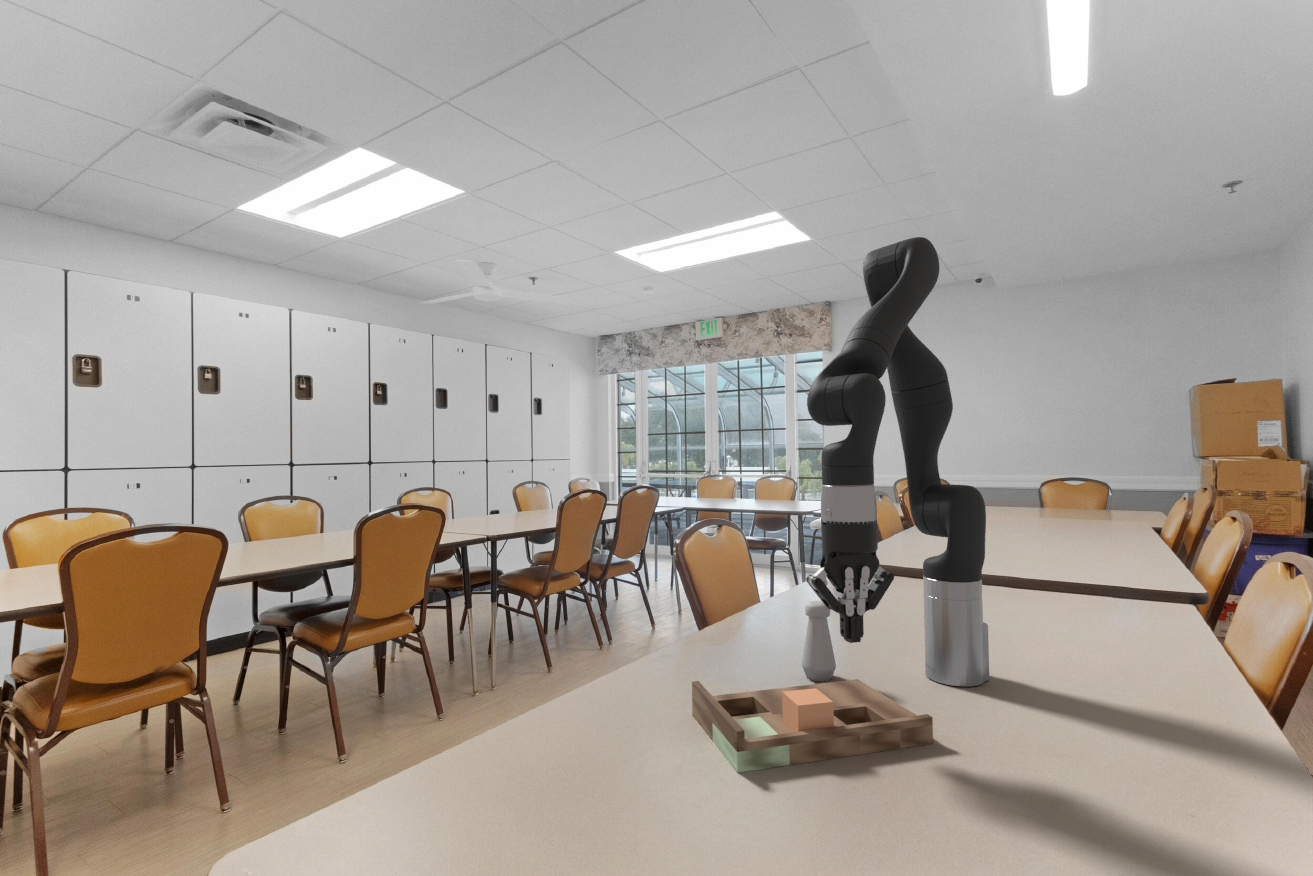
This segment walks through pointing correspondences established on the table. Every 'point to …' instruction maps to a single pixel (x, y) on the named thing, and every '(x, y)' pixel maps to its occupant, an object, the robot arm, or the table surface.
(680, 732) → the table surface
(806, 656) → the salt shaker
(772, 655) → the table surface
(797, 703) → the terracotta block
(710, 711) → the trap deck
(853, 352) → the robot arm
